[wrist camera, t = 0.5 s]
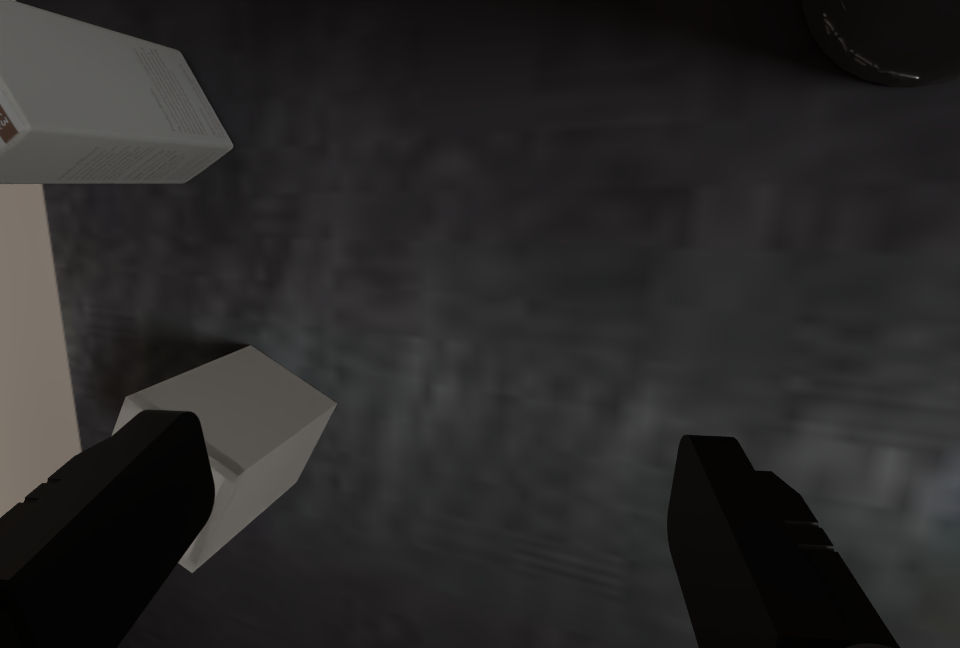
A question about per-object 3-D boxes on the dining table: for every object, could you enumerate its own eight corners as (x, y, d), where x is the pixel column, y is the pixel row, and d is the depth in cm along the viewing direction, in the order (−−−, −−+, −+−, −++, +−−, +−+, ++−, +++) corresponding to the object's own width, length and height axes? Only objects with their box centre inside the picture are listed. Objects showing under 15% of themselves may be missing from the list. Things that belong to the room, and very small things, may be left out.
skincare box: (133, 93, 33) (-136, 42, 21) (186, 46, 31) (-73, -34, 20) (189, 189, 33) (-45, 191, 22) (244, 148, 32) (24, 127, 20)
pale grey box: (250, 345, 35) (125, 396, 26) (337, 403, 34) (238, 475, 25) (215, 425, 37) (89, 497, 28) (296, 482, 36) (192, 573, 27)
